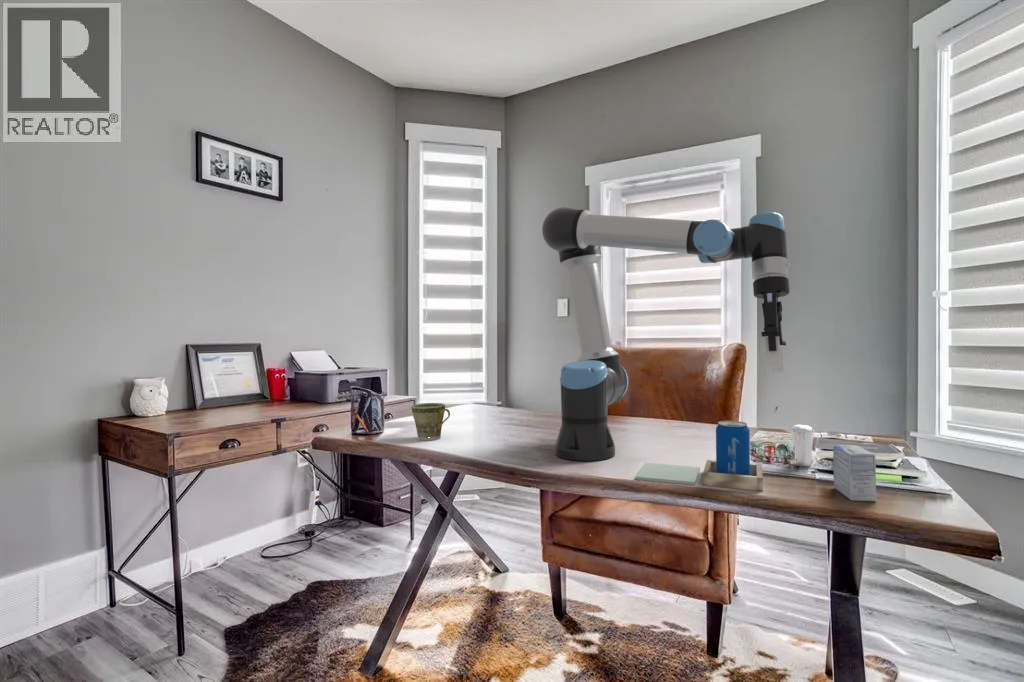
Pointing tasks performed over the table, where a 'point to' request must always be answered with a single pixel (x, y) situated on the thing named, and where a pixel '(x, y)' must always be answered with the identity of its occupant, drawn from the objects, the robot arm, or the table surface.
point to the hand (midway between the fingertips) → (776, 370)
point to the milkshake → (803, 443)
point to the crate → (733, 477)
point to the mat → (669, 473)
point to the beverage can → (733, 448)
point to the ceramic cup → (429, 420)
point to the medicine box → (854, 472)
